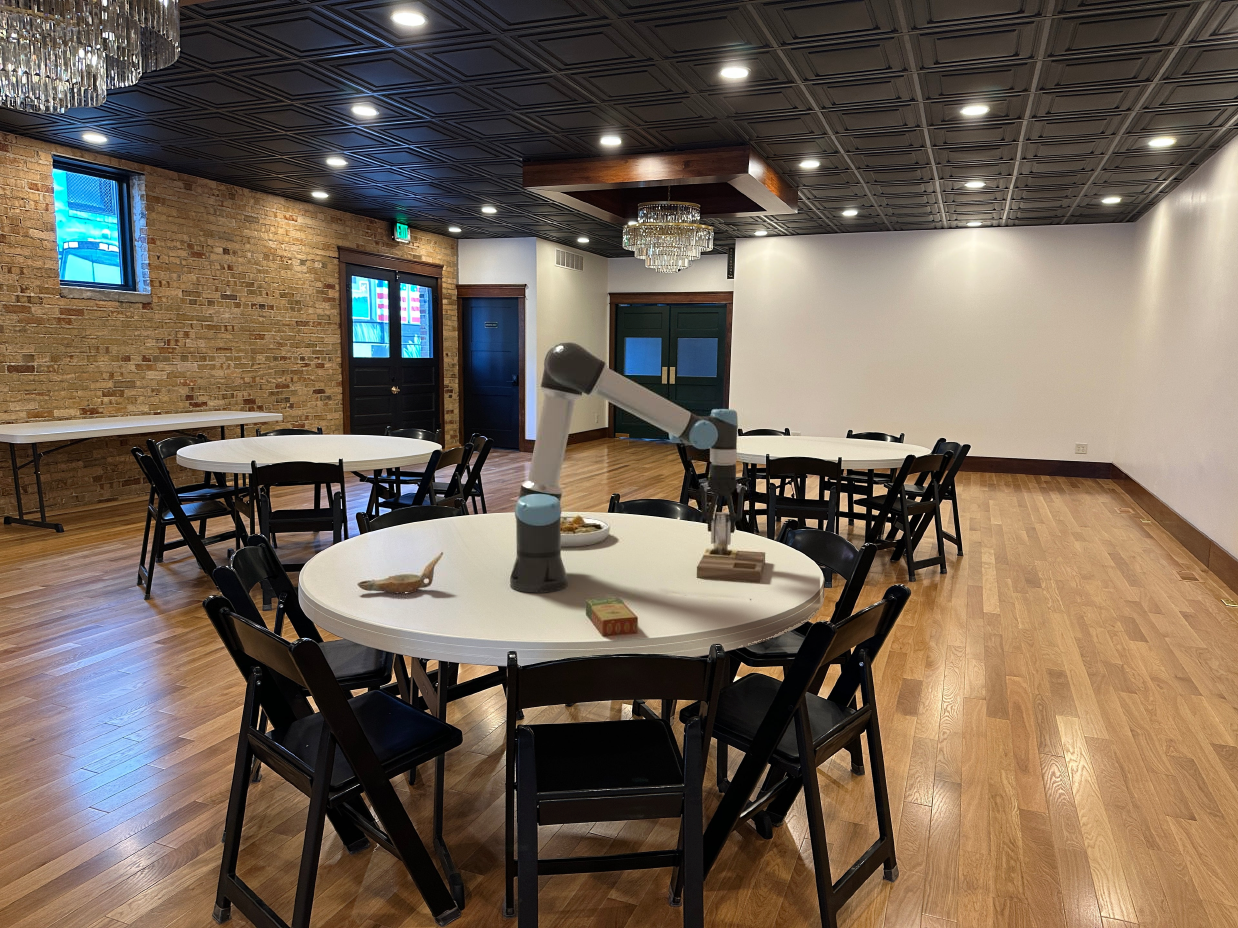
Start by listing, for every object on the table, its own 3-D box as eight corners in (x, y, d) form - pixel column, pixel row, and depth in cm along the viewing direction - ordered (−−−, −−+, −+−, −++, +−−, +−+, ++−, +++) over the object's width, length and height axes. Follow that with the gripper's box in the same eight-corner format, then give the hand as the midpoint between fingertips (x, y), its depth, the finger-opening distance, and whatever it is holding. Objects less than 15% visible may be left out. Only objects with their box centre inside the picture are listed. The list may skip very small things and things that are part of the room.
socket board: (759, 585, 214) (760, 570, 213) (696, 581, 218) (696, 565, 217) (764, 565, 235) (765, 551, 235) (707, 561, 239) (707, 547, 239)
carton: (601, 638, 174) (601, 619, 173) (584, 615, 189) (584, 597, 189) (638, 634, 176) (638, 616, 176) (618, 612, 191) (618, 595, 191)
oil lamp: (444, 594, 204) (443, 555, 203) (356, 599, 199) (355, 560, 198) (443, 584, 213) (442, 547, 211) (358, 589, 207) (357, 551, 206)
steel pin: (726, 563, 231) (727, 515, 229) (712, 562, 232) (713, 514, 230) (727, 559, 235) (729, 512, 233) (714, 558, 235) (715, 511, 234)
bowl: (624, 535, 276) (624, 512, 275) (584, 553, 249) (584, 529, 248) (548, 526, 288) (548, 505, 287) (502, 543, 261) (502, 520, 260)
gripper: (754, 462, 231) (751, 542, 234) (695, 460, 235) (693, 538, 238) (752, 466, 224) (749, 548, 227) (691, 463, 228) (689, 544, 231)
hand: (720, 543), depth 232 cm, fingers closed on steel pin, 4 cm apart
